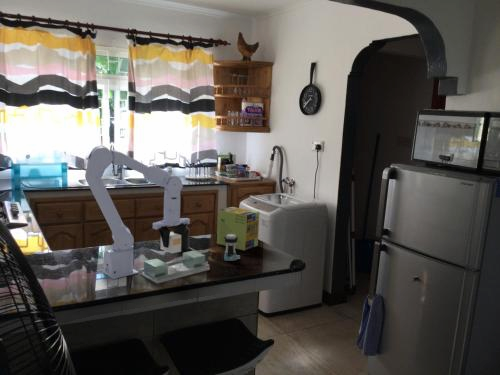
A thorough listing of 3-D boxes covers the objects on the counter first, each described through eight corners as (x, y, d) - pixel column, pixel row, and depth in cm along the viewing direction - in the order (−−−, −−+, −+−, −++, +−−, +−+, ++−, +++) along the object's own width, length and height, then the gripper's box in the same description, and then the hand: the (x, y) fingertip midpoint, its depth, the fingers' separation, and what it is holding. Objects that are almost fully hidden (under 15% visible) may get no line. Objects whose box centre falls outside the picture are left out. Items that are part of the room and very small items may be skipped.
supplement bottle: (182, 245, 179) (183, 218, 177) (192, 249, 174) (193, 221, 172) (169, 248, 175) (169, 220, 173) (178, 252, 170) (178, 223, 168)
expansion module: (172, 253, 146) (172, 237, 145) (160, 248, 151) (160, 232, 150) (181, 251, 149) (181, 235, 148) (169, 247, 154) (169, 231, 153)
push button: (238, 257, 167) (239, 233, 166) (241, 261, 162) (242, 236, 161) (222, 258, 166) (223, 233, 164) (224, 262, 160) (225, 237, 159)
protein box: (245, 251, 176) (247, 215, 174) (216, 243, 185) (217, 209, 182) (258, 245, 185) (260, 211, 183) (230, 239, 193) (231, 206, 191)
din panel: (156, 283, 136) (157, 269, 136) (139, 274, 144) (139, 260, 143) (209, 269, 152) (209, 256, 151) (191, 261, 159) (191, 249, 159)
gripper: (160, 213, 140) (160, 252, 142) (195, 208, 150) (194, 245, 152) (149, 209, 145) (148, 247, 147) (183, 205, 155) (182, 240, 157)
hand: (171, 245), depth 150 cm, fingers closed on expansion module, 4 cm apart
